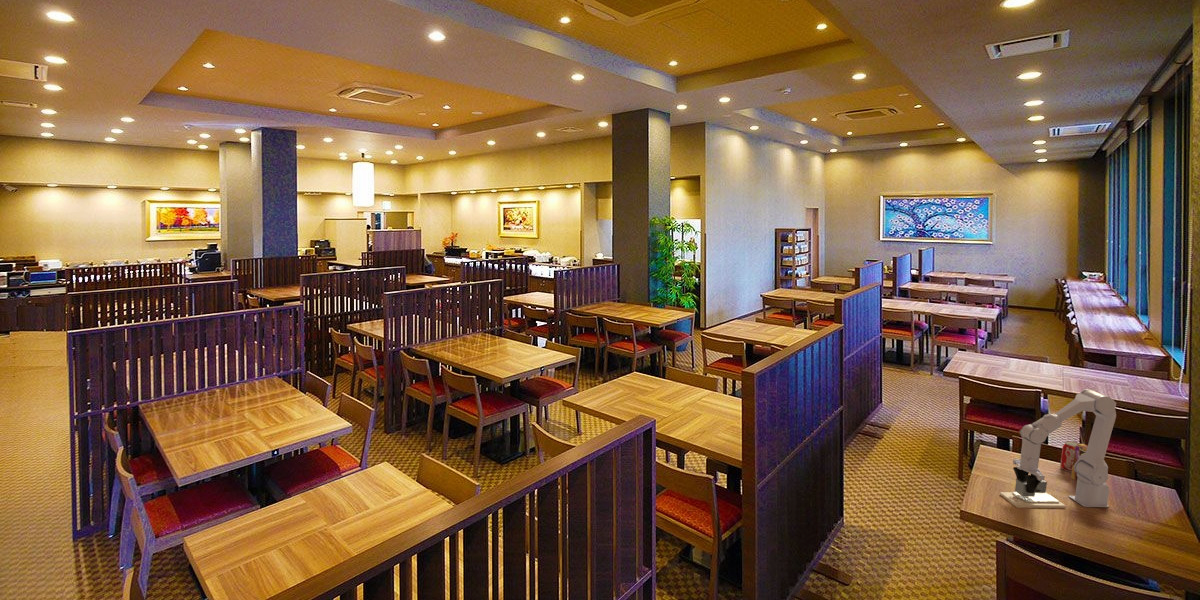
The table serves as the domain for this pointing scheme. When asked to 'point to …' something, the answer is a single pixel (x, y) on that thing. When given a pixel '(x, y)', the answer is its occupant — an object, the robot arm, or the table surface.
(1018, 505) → the scale base
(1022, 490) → the block
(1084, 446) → the candy box
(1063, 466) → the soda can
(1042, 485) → the spacer
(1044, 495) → the white flat slab
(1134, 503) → the table surface
